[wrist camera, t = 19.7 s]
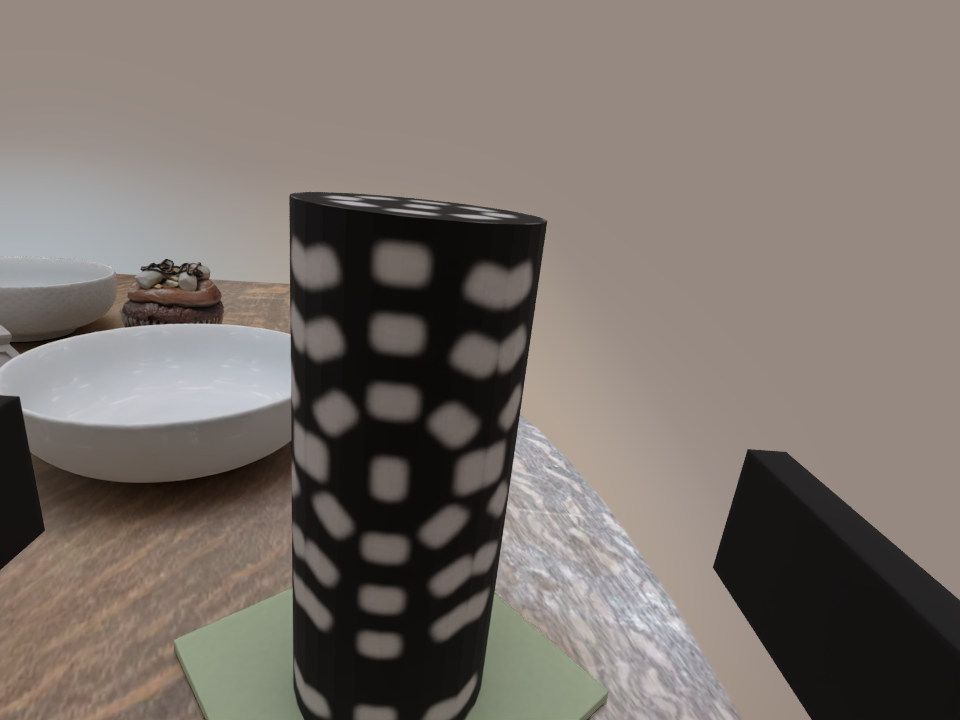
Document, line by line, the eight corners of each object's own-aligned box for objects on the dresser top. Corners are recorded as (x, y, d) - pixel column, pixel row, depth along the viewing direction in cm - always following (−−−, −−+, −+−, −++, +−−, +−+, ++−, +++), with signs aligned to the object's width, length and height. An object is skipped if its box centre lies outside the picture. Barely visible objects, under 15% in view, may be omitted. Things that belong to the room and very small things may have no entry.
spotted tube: (482, 768, 21) (563, 233, 14) (262, 749, 20) (243, 198, 14) (483, 604, 29) (535, 211, 22) (324, 589, 28) (330, 189, 22)
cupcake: (227, 339, 65) (224, 254, 62) (223, 367, 57) (218, 272, 53) (134, 339, 61) (125, 250, 58) (114, 370, 53) (102, 267, 50)
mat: (421, 537, 34) (421, 529, 34) (607, 700, 25) (609, 690, 24) (174, 649, 25) (173, 639, 25) (320, 980, 15) (321, 968, 15)
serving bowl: (364, 410, 51) (367, 339, 48) (243, 557, 31) (238, 449, 29) (154, 377, 52) (148, 308, 50) (-88, 497, 33) (-116, 391, 30)
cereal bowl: (116, 352, 57) (108, 285, 55) (-103, 362, 50) (-123, 285, 47) (126, 310, 71) (120, 256, 69) (-43, 313, 63) (-56, 252, 61)
